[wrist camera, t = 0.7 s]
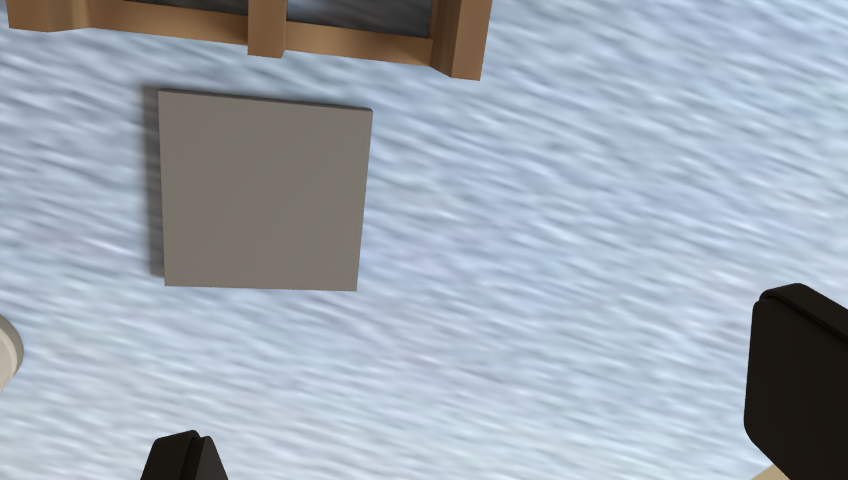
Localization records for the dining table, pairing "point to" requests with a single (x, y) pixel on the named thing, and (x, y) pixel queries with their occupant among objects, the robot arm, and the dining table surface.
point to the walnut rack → (277, 30)
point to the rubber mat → (261, 191)
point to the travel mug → (9, 352)
